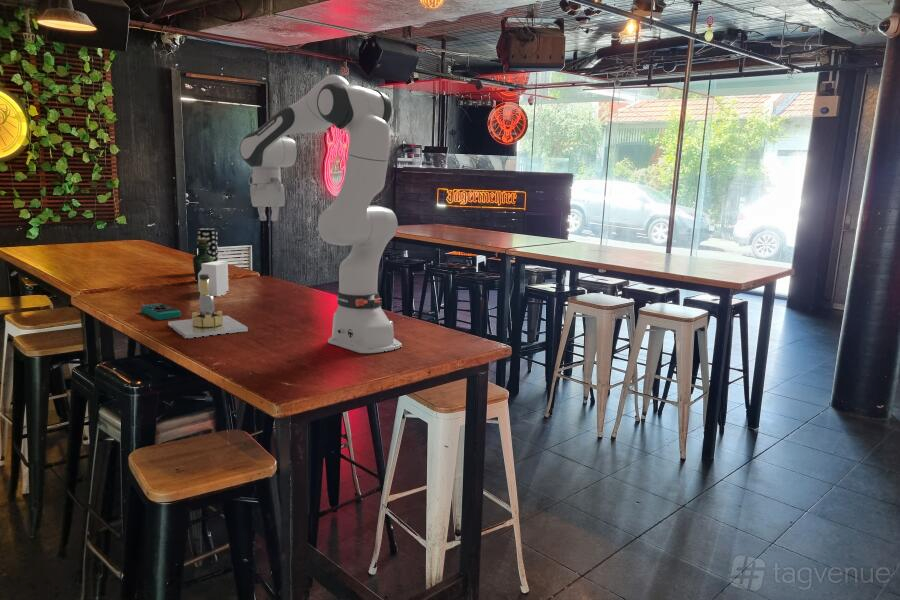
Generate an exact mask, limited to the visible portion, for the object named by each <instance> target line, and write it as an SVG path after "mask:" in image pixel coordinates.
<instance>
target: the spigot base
mask: <svg viewBox="0 0 900 600" xmlns="http://www.w3.org/2000/svg"><path fill="white" fill-rule="evenodd" d="M214 312H215V297H214V295H199V312H197V314H198V313H200V317H202V318H205V314H211V315H212V317H214ZM222 316H223V324H221V325H218V326H213V327H198V326H194V325H193V323H192V318H190V319H189V318H187V319H180V320H170V321H167V323H168V325H167V326H169V327H170V328H171V329H172V328H173V329H172V330H174V332H176V333H178V334H179V335H180V336H181V335H182V338H184V339H185V340H186V338H188V339H195V338H194V337H196V338H203V337H202V336H204V337H210V336H209V335H213V336H218V335H217V334H221V335H227V334H226V333H229V334H236V333H237V332H238V333H244V332H245V333H247V332H249V329H248V326H246V325H245V324H243V323H241V322H240V321H238V320H236V319H235V318H232V317H231V316H229V315H222Z"/></svg>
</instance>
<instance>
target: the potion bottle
mask: <svg viewBox="0 0 900 600" xmlns="http://www.w3.org/2000/svg"><path fill="white" fill-rule="evenodd" d="M206 242H207V239H206V238H197V243H195V244H194V245H195V246H194V247H195V248H196V249H197V252H198V251H199V254H198V253H197V254H196V255H194V256H193V257H192V264H193V272H194V280H197V281H198V273H199V272H200V271H201V270H202V267H201V264H203V263H209V262H213V258H212V256H210V255H208V254H206V253H207V248H209V247H210V246H209V244H206ZM198 243H199V244H198Z"/></svg>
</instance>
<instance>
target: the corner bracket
mask: <svg viewBox="0 0 900 600" xmlns="http://www.w3.org/2000/svg"><path fill="white" fill-rule="evenodd" d="M228 264H229V263H228V260H218V261H214V262H209V263H203V264H201V267H202V270H201V271H200V272H199V273H198V282H197V283H198V293H199V292H200V278H199V275H200V274H209V295H214V296H219V297H222V296H221V295H223V296H226V295H227V292H226V291H229V266H228ZM225 294H226V295H225Z"/></svg>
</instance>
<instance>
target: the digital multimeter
mask: <svg viewBox="0 0 900 600" xmlns="http://www.w3.org/2000/svg"><path fill="white" fill-rule="evenodd" d="M140 309H141V311H140V312H141V313H142V314H144V315H146V314H147V316H149V317H150V318H153V319H154V320H157V321H164V319H166V320H172V319H171V318H174V319H178V318H177V317H180V318H181V317H182V316H181V315H182V314H181V313H182V312H181V311H180V310H179V309H176V308H173V307H171V306H169V305H166V304H164V303H150V304H145V305H142V306H141V307H140Z"/></svg>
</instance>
